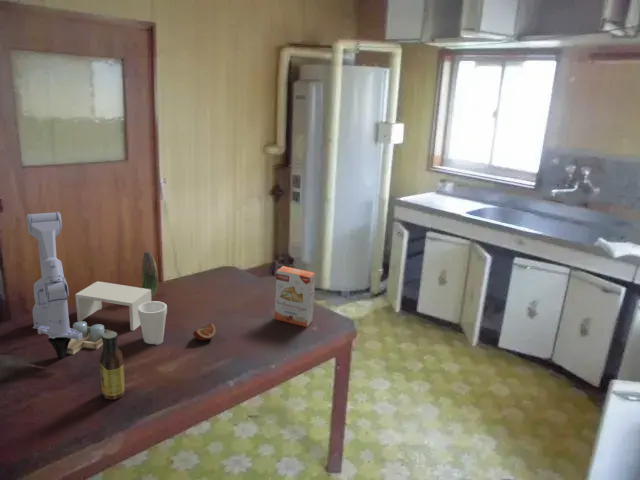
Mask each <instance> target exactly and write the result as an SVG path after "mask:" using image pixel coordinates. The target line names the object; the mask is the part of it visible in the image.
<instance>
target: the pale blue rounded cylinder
mask: <svg viewBox="0 0 640 480" xmlns="http://www.w3.org/2000/svg"><path fill="white" fill-rule="evenodd" d="M87 326H88V323H87V322H86V321H84V320H82V321H76V322H73V324H72V328H73V330H76V331H78V332H81V333H82V336H83V338H86V337H87V336H88V332H87ZM83 338H82V339H83Z"/></svg>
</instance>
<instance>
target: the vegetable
mask: <svg viewBox="0 0 640 480" xmlns="http://www.w3.org/2000/svg"><path fill="white" fill-rule="evenodd" d="M141 262H142V263H141V288H144V289H151V299H153V297H154V296H156V293H157V289H158V283H159V281H158V280H159V275H158V274H159V273H158V268H157V263H156V260H155V258H154V256H153V255H152V254H151V253H150V251H146V252H144V253H143V257H142V261H141Z"/></svg>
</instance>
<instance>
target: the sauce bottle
mask: <svg viewBox="0 0 640 480" xmlns="http://www.w3.org/2000/svg"><path fill="white" fill-rule="evenodd" d="M113 331H114V330H112V331H109V332H106V333H104V334H103V335H102V341H103V345H102V351H101V355H100V357H99V370H100V383H101V392H102V396H103V397H104V399H106V400H107V399H108V400H117V399H120V398H122V397H123V395H124V394H125V393H126V392H125V391H126V389H125V388H126V385H125V384H126V382H125V379H126V378H125V366H124V357H123V356H124V355H123V353H122V350H120V348H118V347H119V346H118V332H116V331H114V332H113Z"/></svg>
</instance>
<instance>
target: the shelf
mask: <svg viewBox="0 0 640 480" xmlns="http://www.w3.org/2000/svg"><path fill="white" fill-rule="evenodd" d="M74 296H75V305H76V317H77V318H76V319H77V322H79V321H84V320H85V319H86V318H88V317H89V316H91V315H92V314H94V313H95V312H98V310H99V311H100V310H102V309H103V304H102V302H103V303H109V304H116V305H121V306H128V308H129V309H128V310H129V326H130V331H135V330H136V329H137V328H139V327H141V323H140V318H139V315H138V306H139V305H141V304H142V303H145V302H150V301H152V298H151V289H144V288H142V287H138V286H130V285H126V284H125V285H124V284H118V283H111V282H106V281H97V280H96V282H93V283H91V284H90V285H89V286H87V287H85V288H84V289H82V290H80V291H79V292H76V293H75V295H74Z"/></svg>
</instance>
